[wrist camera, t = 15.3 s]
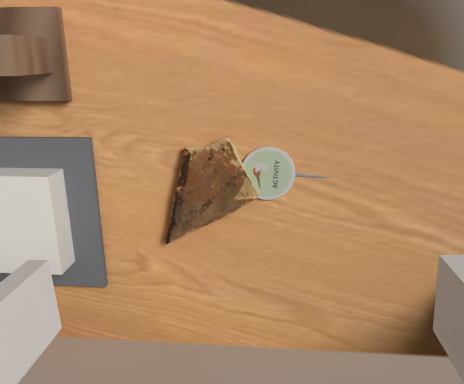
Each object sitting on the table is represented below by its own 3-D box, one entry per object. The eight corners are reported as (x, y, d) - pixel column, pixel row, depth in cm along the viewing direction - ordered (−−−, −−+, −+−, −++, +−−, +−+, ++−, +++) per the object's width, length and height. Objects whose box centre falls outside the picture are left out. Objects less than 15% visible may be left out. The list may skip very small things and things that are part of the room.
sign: (394, 209, 41) (238, 197, 42) (391, 206, 42) (239, 195, 42) (404, 156, 39) (242, 145, 40) (401, 154, 40) (242, 143, 41)
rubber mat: (-37, 136, 42) (-41, 137, 42) (91, 137, 41) (89, 138, 41) (-8, 280, 47) (-11, 283, 46) (107, 284, 46) (105, 287, 45)
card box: (75, 260, 45) (62, 274, 42) (11, 258, 45) (-6, 272, 42) (62, 168, 42) (47, 176, 39) (-6, 167, 42) (-26, 175, 39)
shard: (168, 238, 44) (164, 246, 43) (129, 175, 43) (124, 180, 41) (262, 193, 42) (261, 199, 40) (225, 125, 40) (223, 128, 39)
